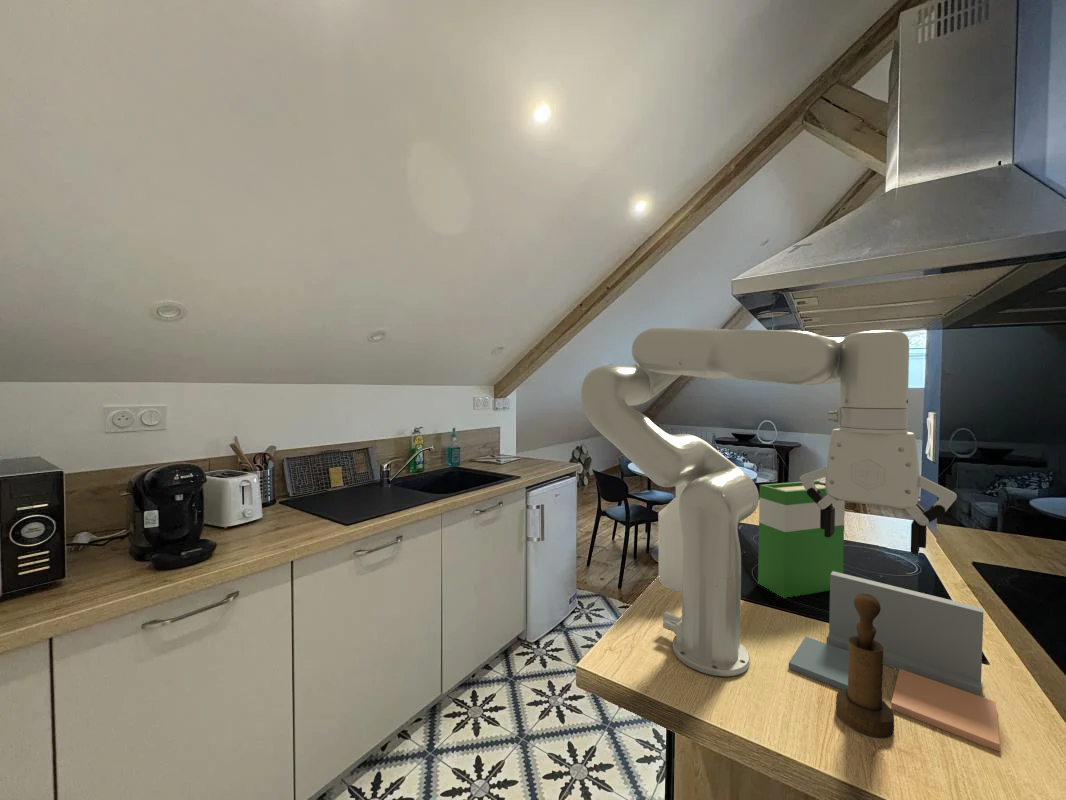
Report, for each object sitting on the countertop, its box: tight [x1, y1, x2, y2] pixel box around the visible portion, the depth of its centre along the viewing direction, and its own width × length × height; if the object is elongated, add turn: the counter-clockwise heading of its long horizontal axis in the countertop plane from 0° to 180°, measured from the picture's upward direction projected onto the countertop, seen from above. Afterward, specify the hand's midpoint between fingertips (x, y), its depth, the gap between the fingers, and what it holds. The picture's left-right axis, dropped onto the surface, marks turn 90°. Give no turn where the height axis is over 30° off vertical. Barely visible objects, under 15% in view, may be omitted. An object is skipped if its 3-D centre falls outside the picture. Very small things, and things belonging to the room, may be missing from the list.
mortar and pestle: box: [835, 594, 895, 739], centre depth 63 cm, size 7×6×18 cm
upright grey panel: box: [826, 571, 984, 697], centre depth 77 cm, size 20×6×12 cm, turn 46°
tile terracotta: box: [890, 669, 1001, 752], centre depth 66 cm, size 11×11×1 cm
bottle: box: [657, 483, 687, 593], centre depth 108 cm, size 12×12×25 cm
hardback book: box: [757, 479, 846, 599], centre depth 106 cm, size 18×7×24 cm, turn 107°
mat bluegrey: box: [788, 636, 849, 690], centre depth 75 cm, size 11×11×1 cm
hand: (870, 543), depth 62 cm, fingers open, 9 cm apart
